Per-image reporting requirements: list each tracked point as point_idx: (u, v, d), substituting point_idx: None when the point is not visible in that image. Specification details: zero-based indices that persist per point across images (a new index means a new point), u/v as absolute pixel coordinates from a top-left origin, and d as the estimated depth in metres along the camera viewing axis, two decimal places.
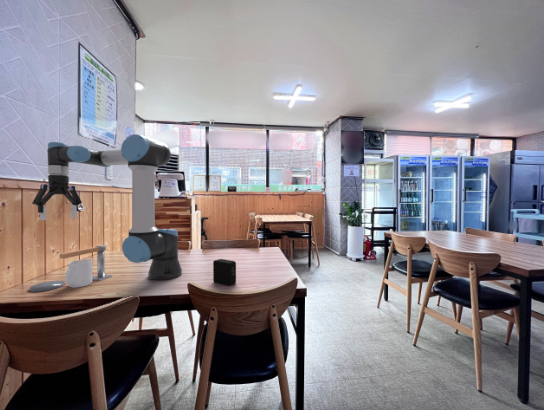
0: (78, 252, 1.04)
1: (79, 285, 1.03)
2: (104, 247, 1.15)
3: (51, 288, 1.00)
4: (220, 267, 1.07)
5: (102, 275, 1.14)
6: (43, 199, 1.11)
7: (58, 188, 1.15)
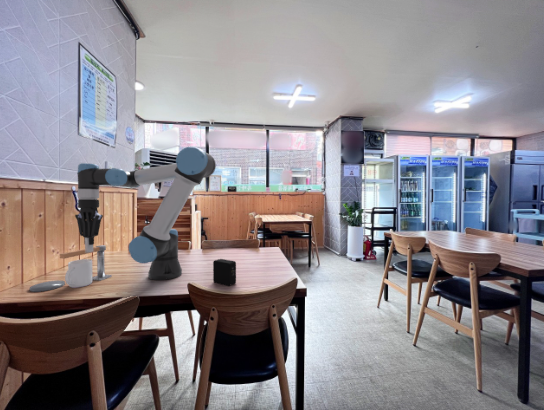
0: (78, 252, 1.04)
1: (79, 285, 1.03)
2: (104, 247, 1.15)
3: (51, 288, 1.00)
4: (220, 267, 1.07)
5: (102, 275, 1.14)
6: None
7: (82, 214, 1.06)
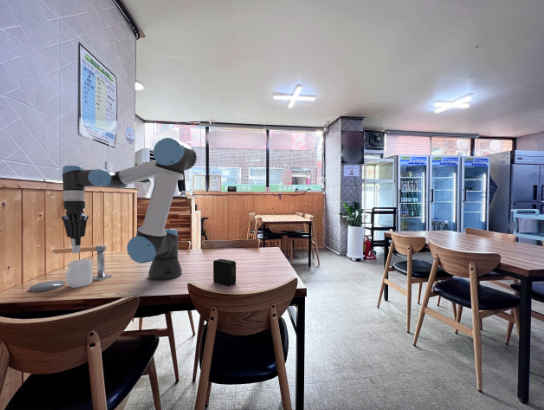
0: (70, 249, 1.09)
1: (79, 285, 1.03)
2: (100, 248, 1.13)
3: (51, 288, 1.00)
4: (220, 267, 1.07)
5: (102, 275, 1.14)
6: None
7: (68, 215, 1.07)
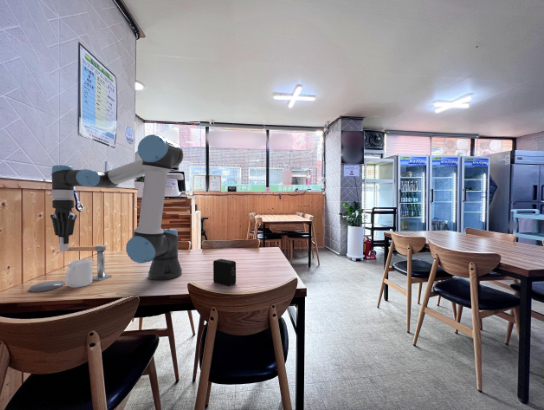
0: (73, 248, 1.13)
1: (79, 285, 1.03)
2: (98, 248, 1.13)
3: (51, 288, 1.00)
4: (220, 267, 1.07)
5: (102, 275, 1.14)
6: None
7: (56, 214, 1.09)
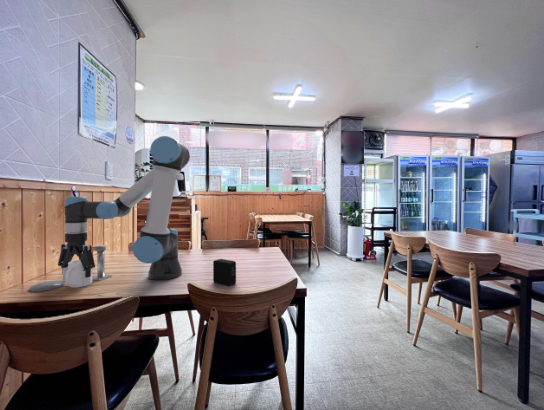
0: None
1: (79, 285, 1.03)
2: (98, 248, 1.13)
3: (51, 288, 1.00)
4: (220, 267, 1.07)
5: (102, 275, 1.14)
6: None
7: (69, 248, 1.03)
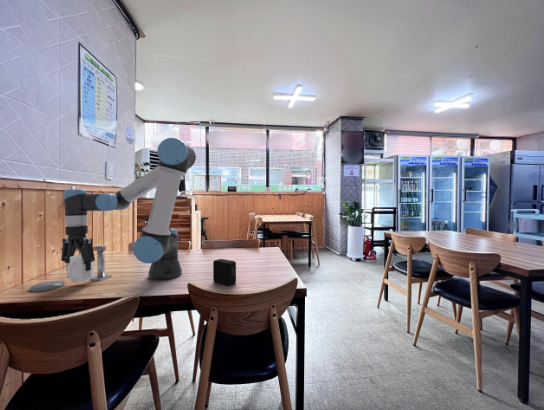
0: None
1: (81, 279, 1.03)
2: (98, 248, 1.13)
3: (51, 288, 1.00)
4: (220, 267, 1.07)
5: (102, 275, 1.14)
6: None
7: (70, 241, 1.02)
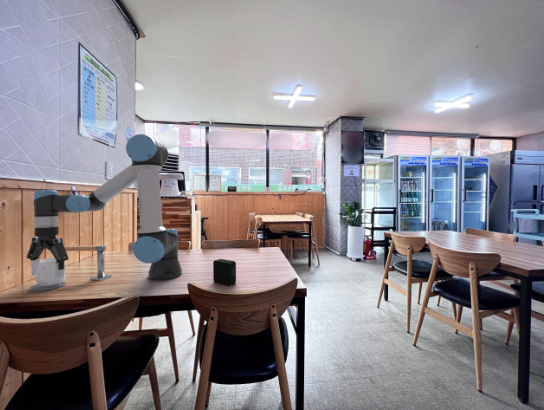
0: (73, 248, 1.13)
1: (50, 284, 1.01)
2: (98, 248, 1.13)
3: (51, 288, 1.00)
4: (220, 267, 1.07)
5: (102, 275, 1.14)
6: None
7: (39, 242, 1.01)
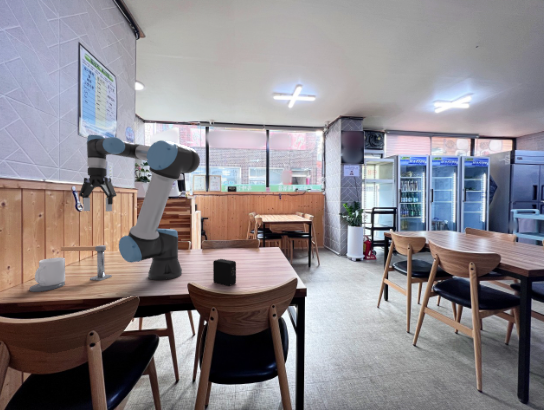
0: (73, 248, 1.13)
1: (50, 284, 1.01)
2: (98, 248, 1.13)
3: (51, 288, 1.00)
4: (220, 267, 1.07)
5: (102, 275, 1.14)
6: None
7: (91, 180, 1.17)
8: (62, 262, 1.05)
